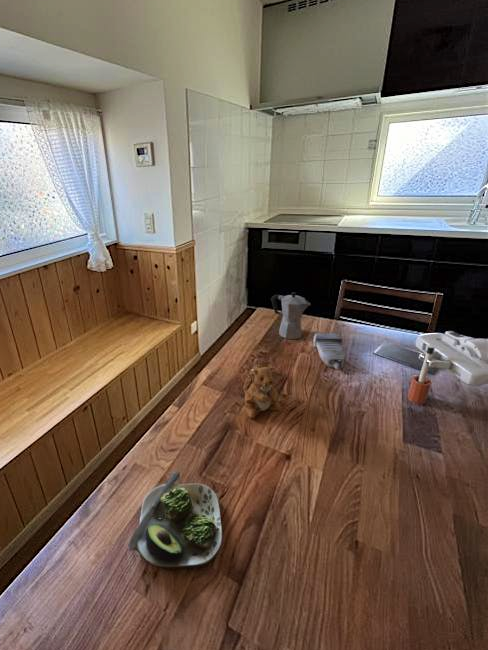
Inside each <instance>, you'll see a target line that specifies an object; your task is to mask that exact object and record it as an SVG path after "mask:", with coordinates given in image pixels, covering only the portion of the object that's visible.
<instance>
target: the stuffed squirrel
mask: <svg viewBox="0 0 488 650" xmlns="http://www.w3.org/2000/svg"><path fill="white" fill-rule="evenodd" d="M274 368H275V367H274V365H270V366H269V367H267V366H264V365H262V364H260V363H259V364H255V365H254V366H253V367H252V369H251V370H250V371H249V373H248V375H247V377H246V378H245V381H244V382H243V392H244V407H245V412H246V414H247V415H248V417H249V418H250V419H255V418H256V417H257V416H258V414H259V413H260V412H264V411H266V410H267V409H268V410H270V411H279V412H280V411H281V410H282V406H281V405H280V404H279V399H280V397H279V394H278V392H277V391H276V389H275V387H273V386H274V385H276V386H278V385H280V383H279V382H278V381H275V380H274V377H273V372H272V371H273V370H274Z"/></svg>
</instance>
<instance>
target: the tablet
mask: <svg viewBox="0 0 488 650" xmlns="http://www.w3.org/2000/svg"><path fill="white" fill-rule="evenodd" d="M421 353H422V351H421V352H420V351H418V350H414V349H411V348H408V347H406V346H402V345H399V344H396V343H393V342H390V341H387V340H384V341H383V342H382V343H381V344H380V345H379V346H377V348H376V349H375V350H374V351H373V352H372V355H375V356H378V357H380V358H384V359H386V360H389V361H392V362H395V363H397V364H399V365H400V364H401V365H403V366H406V367H409V368H412V369H415V370H417V371H420V372H421V370H422V366H423V363H424V362H423V361H421V360H420V359H419V355H420V354H421ZM437 370H438V368H437V367H429V368H428V372H427V375H428V374H429V375H431V376H433V375H434V374H435V373H436V371H437Z"/></svg>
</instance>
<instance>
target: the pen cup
mask: <svg viewBox="0 0 488 650" xmlns="http://www.w3.org/2000/svg"><path fill="white" fill-rule="evenodd" d="M419 377H420V375H414V376H412V378H411V381H410V384H409V389H408V393H407V399H408V400H409V401H410V402H412V403H413V404H417V405H423V404H426V402H427V399H428V397H429V393H430V391H431V387H432V385H433V384H432V381H431V379H429V378H428V377H426V379H425V382H424V384H421V383H419V382H418V380H419Z"/></svg>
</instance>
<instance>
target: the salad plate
mask: <svg viewBox="0 0 488 650" xmlns="http://www.w3.org/2000/svg"><path fill="white" fill-rule="evenodd" d="M180 476H181V475H180V472H179V471H177V470H175V471H173V472H172V473H171V475H170V476H169V478H168V479H167V481H166V483H165V484H162V485H158V486H156V487H154V488H152V490H151V491H149V492H148V493H147V494H146V495H145V496H144V498H143V500H142V504H141V508H140V516H139V524H138V527H137V528H136V529H135V530H134V532H133V534H132V535H131V538H130V540H129V542H128V544H127V545H128V546H127V547H128V551H129V552H132V551H136V552H137V553H139V555H140V556H141V557H142V559H143V560H144V561H145V562H146V563H148V565H151V566H154V567H157V568H159V569H160V568H161V569H167V570H182V569H185V570H193V569H194V570H195V569H198V568H203V567H207V566H208V565H210V564H211V562H212V561H213V560H214V559H215V558H216V557H217V555H218V553H219V552H220V550H221V546H222V544H223V543H222V542H223V527H222V517H221V509H220V503H219V497H218V496H217V494H216V492H214V490H213V489H211V487H209V486H208V485H206V484H203V483H180V482H179V478H180ZM159 518H161V519H159Z"/></svg>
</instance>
